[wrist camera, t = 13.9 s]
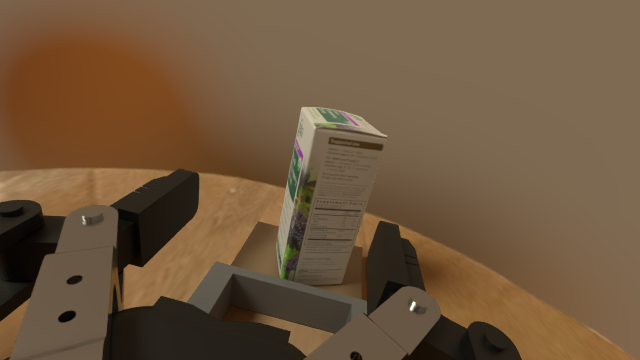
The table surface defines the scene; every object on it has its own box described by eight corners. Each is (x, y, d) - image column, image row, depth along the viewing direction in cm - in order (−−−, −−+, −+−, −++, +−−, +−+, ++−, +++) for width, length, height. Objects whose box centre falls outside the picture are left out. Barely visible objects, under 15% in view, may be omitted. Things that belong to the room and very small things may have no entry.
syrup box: (274, 245, 30) (297, 103, 24) (328, 245, 32) (363, 113, 26) (280, 288, 25) (311, 123, 19) (344, 286, 27) (392, 134, 21)
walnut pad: (222, 290, 25) (223, 277, 25) (257, 232, 34) (258, 221, 33) (357, 325, 25) (361, 313, 24) (359, 258, 33) (362, 247, 32)
